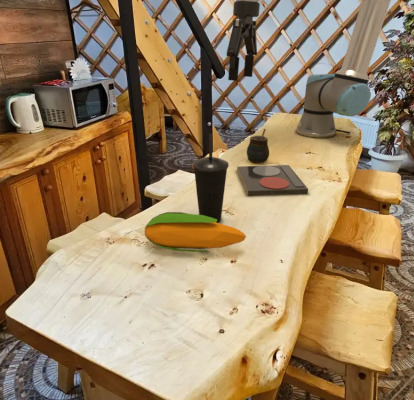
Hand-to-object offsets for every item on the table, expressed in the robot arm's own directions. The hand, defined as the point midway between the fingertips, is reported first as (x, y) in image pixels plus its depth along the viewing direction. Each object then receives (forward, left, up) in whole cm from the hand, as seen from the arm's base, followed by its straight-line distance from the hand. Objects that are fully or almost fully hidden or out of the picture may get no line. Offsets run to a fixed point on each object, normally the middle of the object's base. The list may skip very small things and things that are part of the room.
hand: (240, 78), depth 115 cm
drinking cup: (+14, +45, -25) cm, 53 cm away
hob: (-5, +24, -25) cm, 35 cm away
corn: (+18, +56, -25) cm, 64 cm away
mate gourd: (-5, +7, -25) cm, 27 cm away
